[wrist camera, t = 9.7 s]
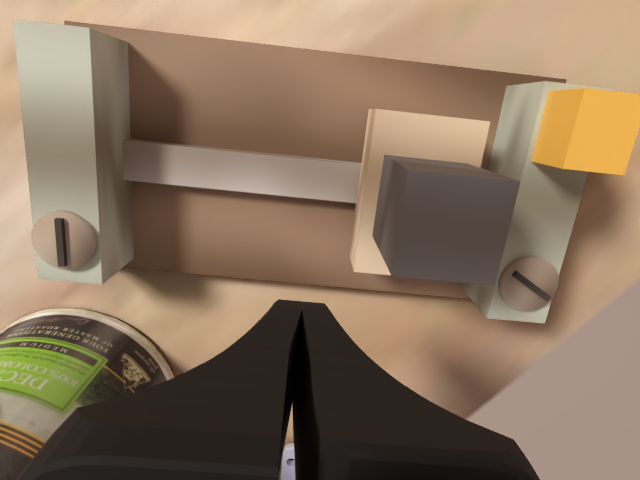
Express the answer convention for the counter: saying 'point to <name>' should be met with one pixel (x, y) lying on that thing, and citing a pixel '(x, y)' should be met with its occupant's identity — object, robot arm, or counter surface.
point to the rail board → (258, 159)
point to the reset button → (588, 130)
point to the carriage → (429, 200)
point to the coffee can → (65, 374)
